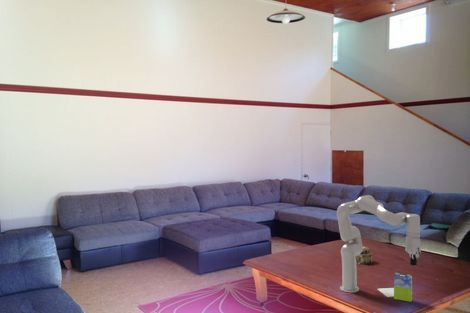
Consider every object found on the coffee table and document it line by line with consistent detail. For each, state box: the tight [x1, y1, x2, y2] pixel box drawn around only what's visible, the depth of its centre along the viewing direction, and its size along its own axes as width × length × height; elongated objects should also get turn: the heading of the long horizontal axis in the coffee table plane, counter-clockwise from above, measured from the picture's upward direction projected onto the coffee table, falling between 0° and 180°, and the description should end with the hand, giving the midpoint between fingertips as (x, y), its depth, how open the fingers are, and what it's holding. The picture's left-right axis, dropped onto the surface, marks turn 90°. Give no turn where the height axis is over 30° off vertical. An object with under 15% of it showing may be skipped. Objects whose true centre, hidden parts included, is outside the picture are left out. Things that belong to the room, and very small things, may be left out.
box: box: [393, 272, 413, 303], centre depth 251 cm, size 10×4×17 cm, turn 60°
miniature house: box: [355, 245, 374, 266], centre depth 333 cm, size 15×14×11 cm
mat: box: [377, 287, 394, 298], centre depth 264 cm, size 14×16×1 cm
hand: (413, 264), depth 239 cm, fingers closed
